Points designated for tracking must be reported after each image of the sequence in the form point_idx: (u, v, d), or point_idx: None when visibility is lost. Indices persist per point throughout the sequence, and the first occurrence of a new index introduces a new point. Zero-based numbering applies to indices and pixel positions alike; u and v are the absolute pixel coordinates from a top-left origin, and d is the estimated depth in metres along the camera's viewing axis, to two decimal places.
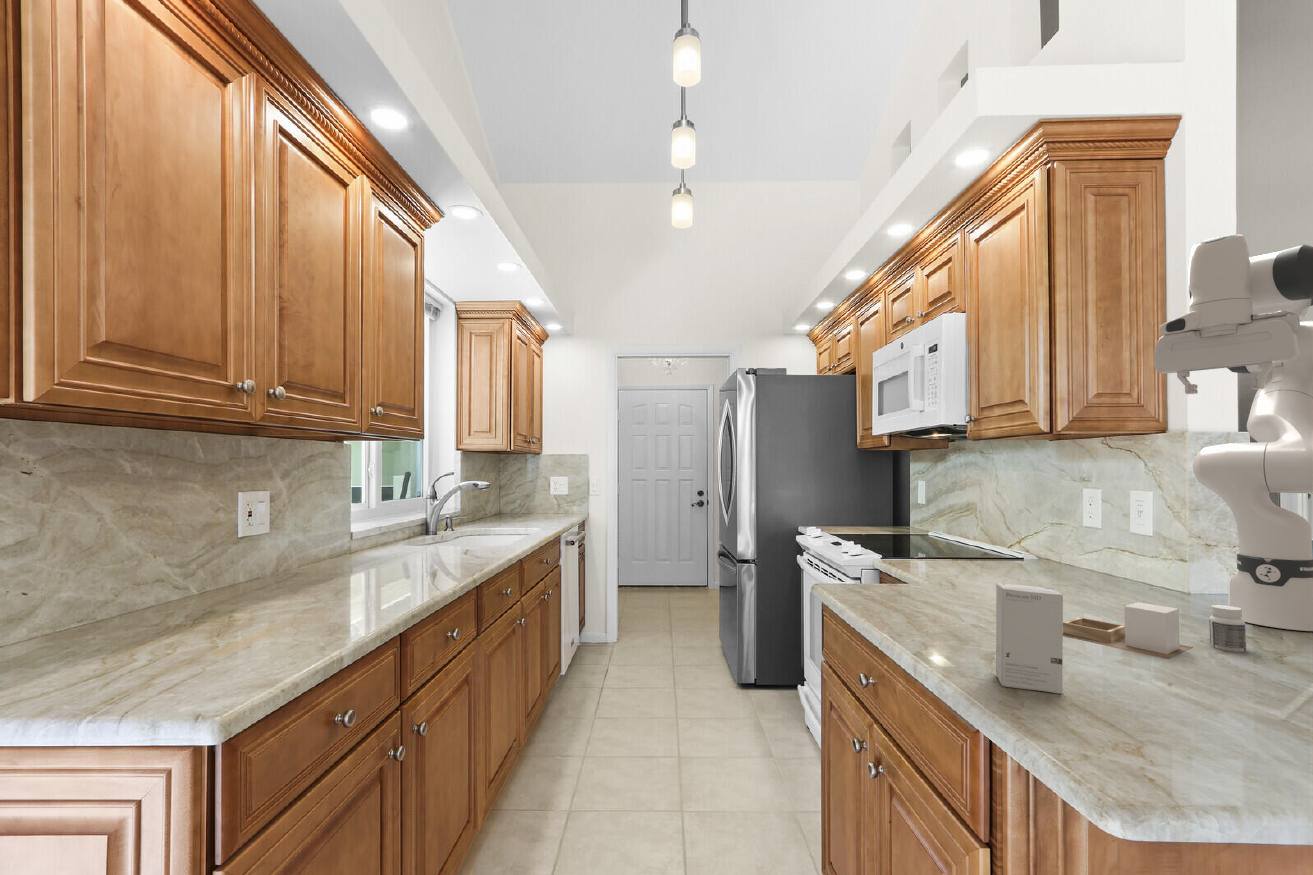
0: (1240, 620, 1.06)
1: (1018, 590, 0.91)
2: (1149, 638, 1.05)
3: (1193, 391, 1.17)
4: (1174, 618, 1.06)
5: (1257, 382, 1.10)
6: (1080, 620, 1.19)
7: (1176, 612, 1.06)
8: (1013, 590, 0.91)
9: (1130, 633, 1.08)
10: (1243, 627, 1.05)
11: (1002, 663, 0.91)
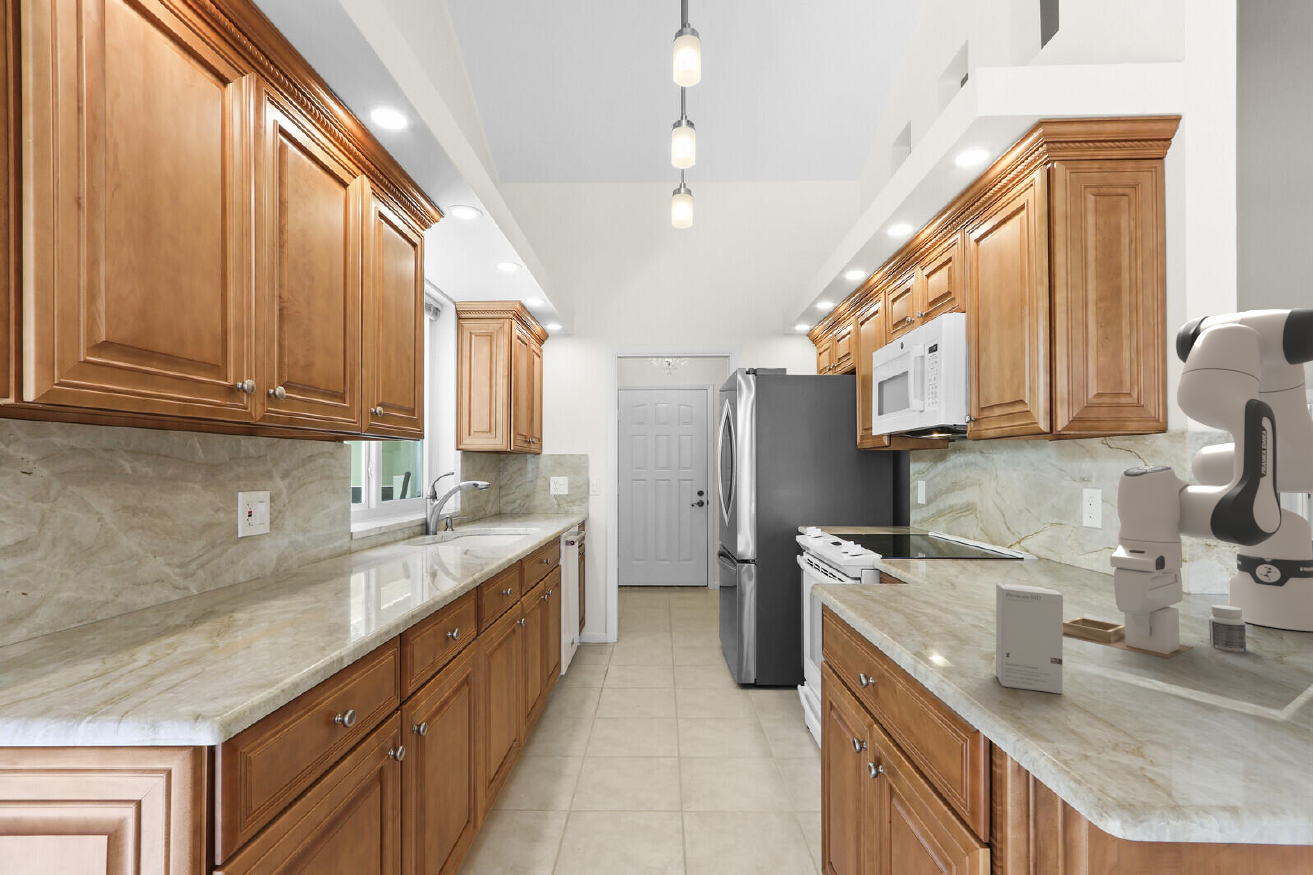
0: (1240, 620, 1.06)
1: (1018, 590, 0.91)
2: (1149, 638, 1.05)
3: (1151, 634, 1.05)
4: (1174, 618, 1.06)
5: None
6: (1080, 620, 1.19)
7: (1176, 612, 1.06)
8: (1013, 590, 0.91)
9: (1130, 633, 1.08)
10: (1243, 627, 1.05)
11: (1002, 663, 0.91)
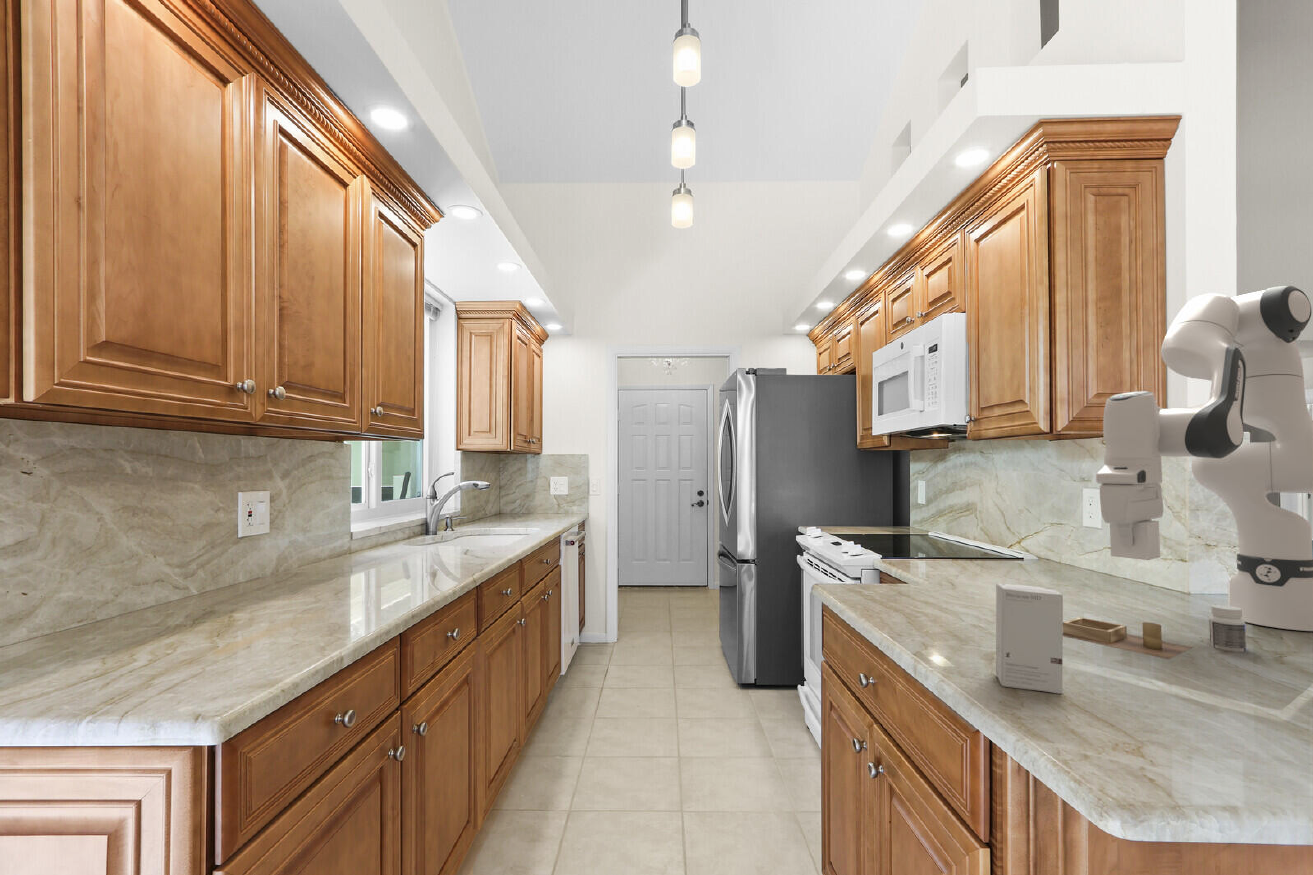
0: (1240, 620, 1.06)
1: (1018, 590, 0.91)
2: (1132, 547, 1.15)
3: (1133, 544, 1.15)
4: (1155, 529, 1.16)
5: None
6: (1080, 620, 1.19)
7: (1156, 524, 1.16)
8: (1013, 590, 0.91)
9: (1115, 544, 1.18)
10: (1243, 627, 1.05)
11: (1002, 663, 0.91)
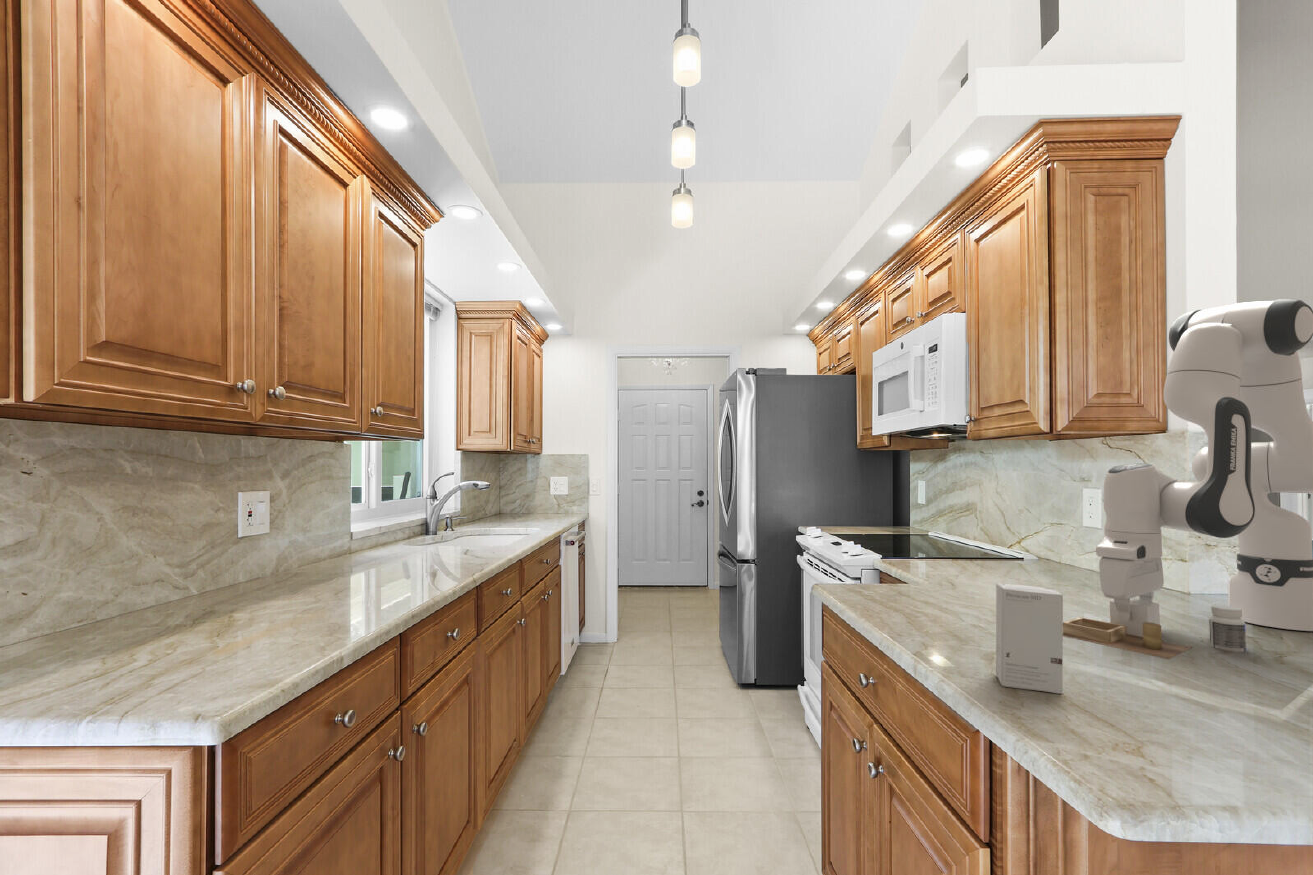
0: (1240, 620, 1.06)
1: (1018, 590, 0.91)
2: (1132, 630, 1.15)
3: (1131, 619, 1.14)
4: (1155, 612, 1.15)
5: None
6: (1080, 620, 1.19)
7: (1157, 606, 1.16)
8: (1013, 590, 0.91)
9: None
10: (1243, 627, 1.05)
11: (1002, 663, 0.91)
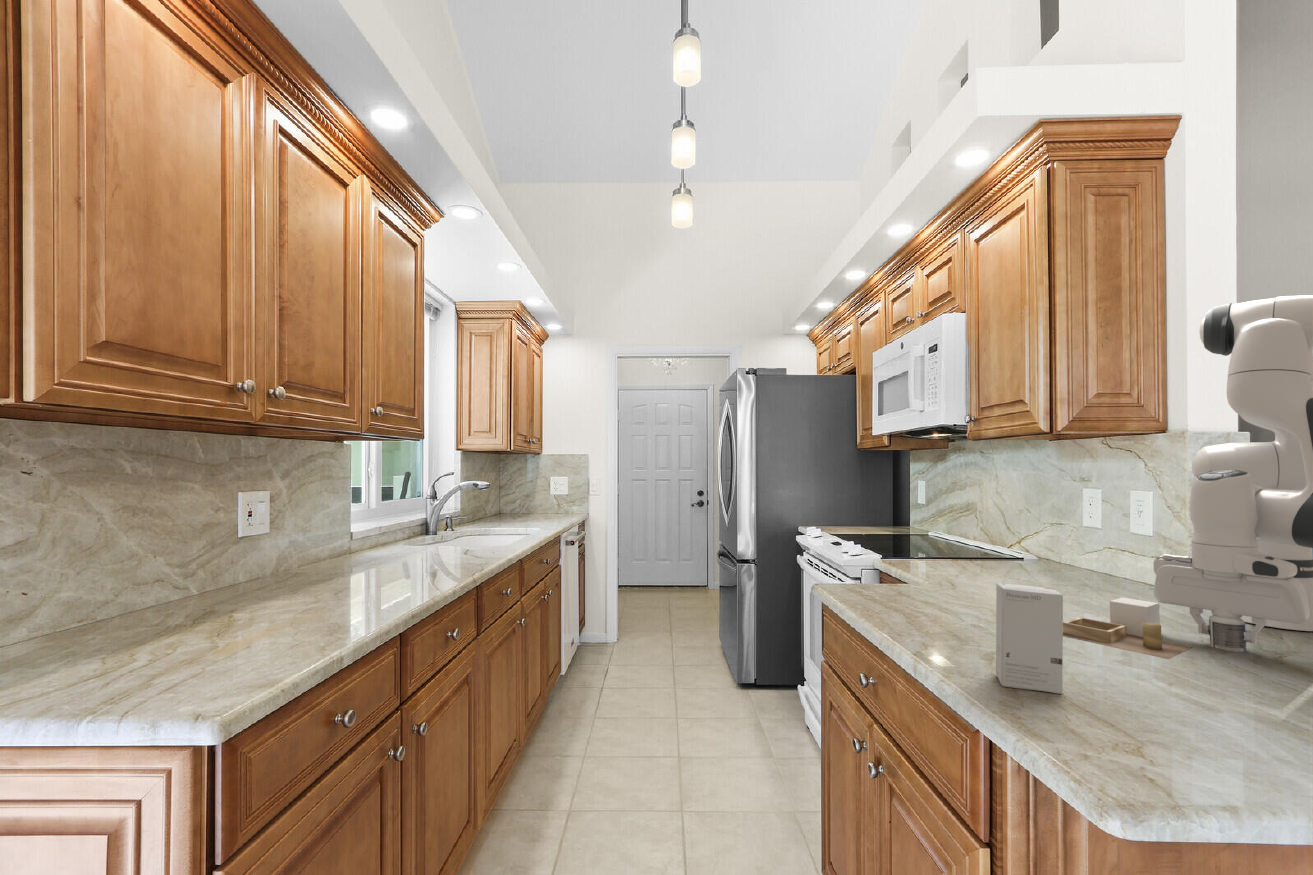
0: (1240, 620, 1.06)
1: (1018, 590, 0.91)
2: (1132, 630, 1.15)
3: None
4: (1155, 612, 1.15)
5: None
6: (1080, 620, 1.19)
7: (1157, 606, 1.16)
8: (1013, 590, 0.91)
9: None
10: (1243, 627, 1.05)
11: (1002, 663, 0.91)
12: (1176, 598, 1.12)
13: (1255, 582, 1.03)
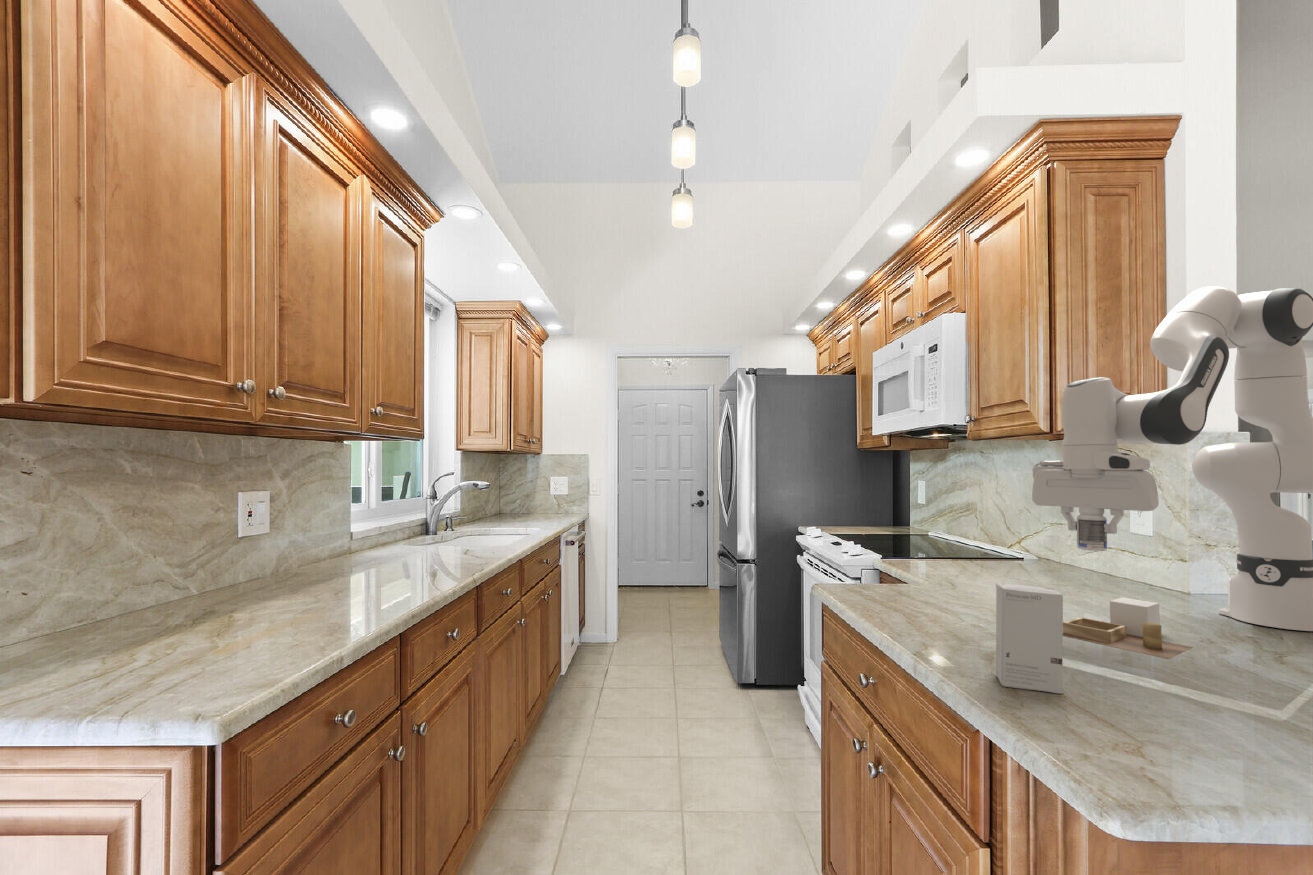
0: (1102, 516, 1.14)
1: (1018, 590, 0.91)
2: (1132, 630, 1.15)
3: None
4: (1155, 612, 1.15)
5: None
6: (1080, 620, 1.19)
7: (1157, 606, 1.16)
8: (1013, 590, 0.91)
9: None
10: (1104, 522, 1.14)
11: (1002, 663, 0.91)
12: (1050, 499, 1.21)
13: (1111, 476, 1.11)
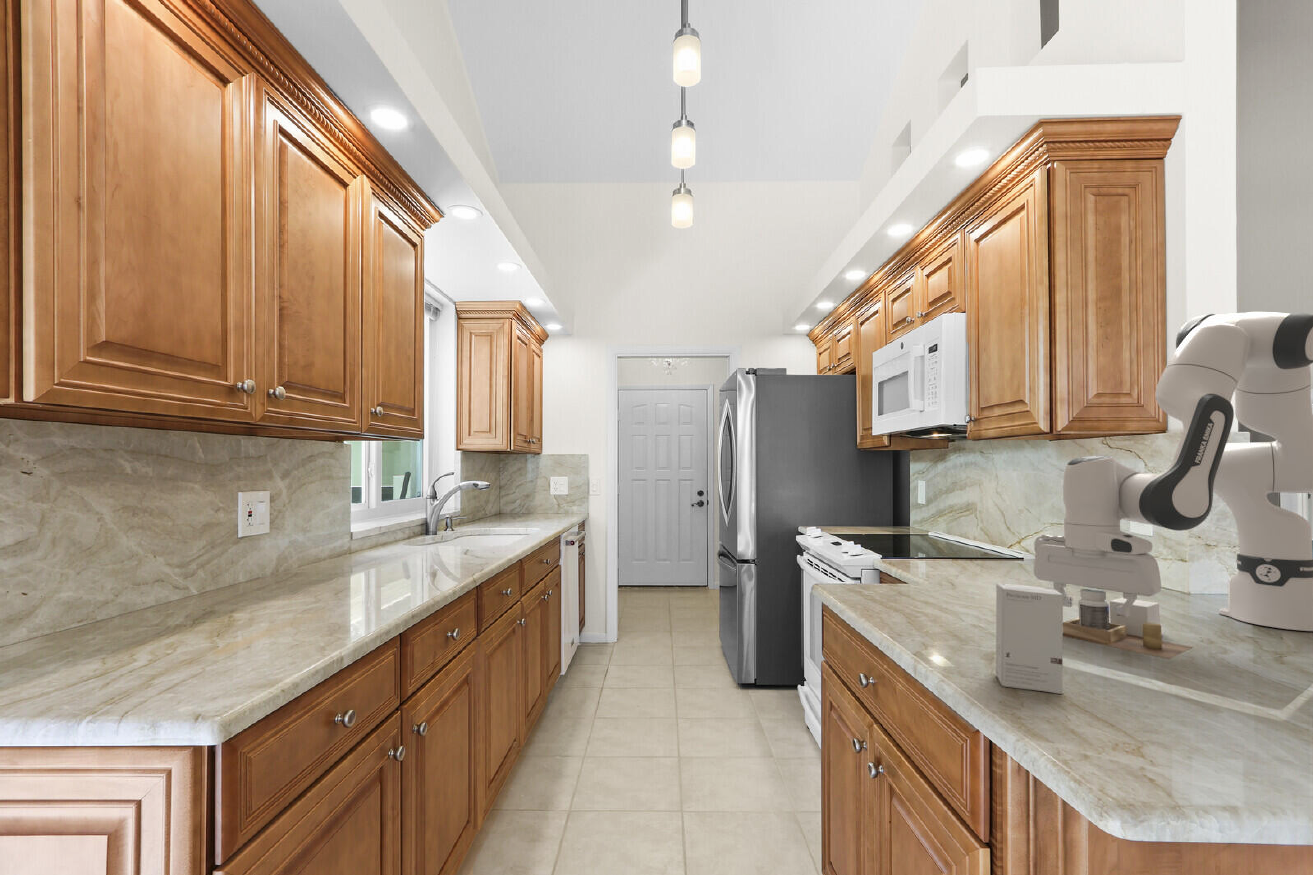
0: (1103, 602, 1.14)
1: (1018, 590, 0.91)
2: (1132, 630, 1.15)
3: None
4: (1155, 612, 1.15)
5: None
6: None
7: (1157, 606, 1.16)
8: (1013, 590, 0.91)
9: None
10: (1106, 608, 1.13)
11: (1002, 663, 0.91)
12: (1051, 575, 1.20)
13: (1114, 558, 1.11)
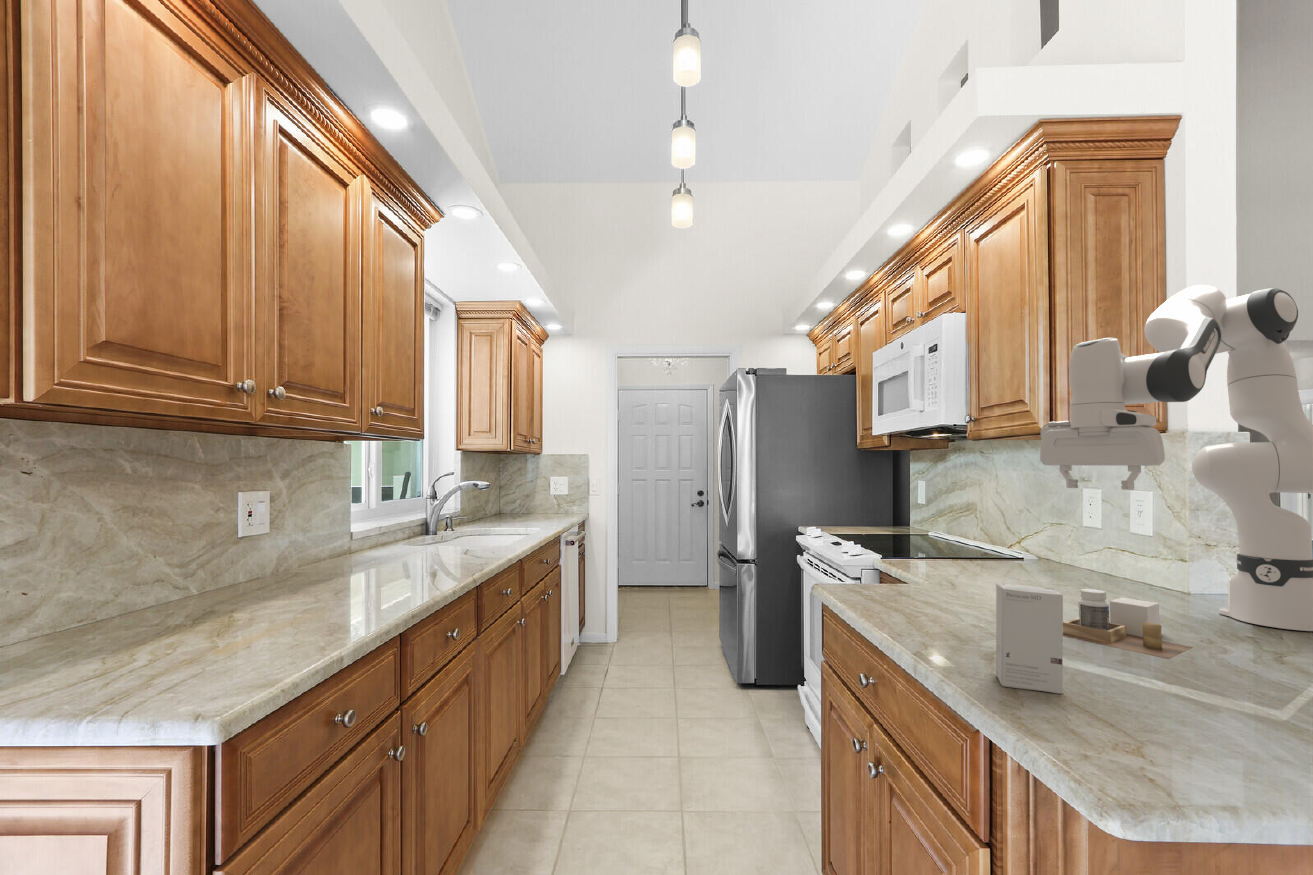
0: (1104, 602, 1.14)
1: (1018, 590, 0.91)
2: (1132, 630, 1.15)
3: None
4: (1155, 612, 1.15)
5: None
6: None
7: (1157, 606, 1.16)
8: (1013, 590, 0.91)
9: None
10: (1106, 608, 1.13)
11: (1002, 663, 0.91)
12: (1057, 459, 1.23)
13: (1118, 432, 1.14)
